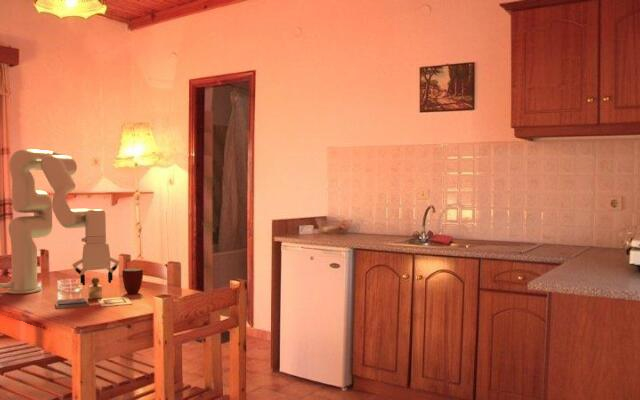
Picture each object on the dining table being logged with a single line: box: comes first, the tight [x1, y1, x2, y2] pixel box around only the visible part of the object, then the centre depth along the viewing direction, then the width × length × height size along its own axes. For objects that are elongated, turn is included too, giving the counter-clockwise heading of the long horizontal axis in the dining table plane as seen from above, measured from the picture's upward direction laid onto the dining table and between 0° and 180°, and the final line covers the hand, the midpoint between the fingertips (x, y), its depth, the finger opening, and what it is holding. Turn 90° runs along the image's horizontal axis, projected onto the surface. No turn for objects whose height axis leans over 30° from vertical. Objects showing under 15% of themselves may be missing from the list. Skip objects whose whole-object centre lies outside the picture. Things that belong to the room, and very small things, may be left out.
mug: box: [121, 267, 144, 295], centre depth 235 cm, size 10×8×10 cm
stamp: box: [88, 277, 103, 301], centre depth 223 cm, size 4×4×9 cm
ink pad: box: [54, 297, 90, 310], centre depth 211 cm, size 11×9×2 cm
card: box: [96, 296, 133, 308], centre depth 217 cm, size 11×14×1 cm
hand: (96, 283), depth 222 cm, fingers open, 9 cm apart
